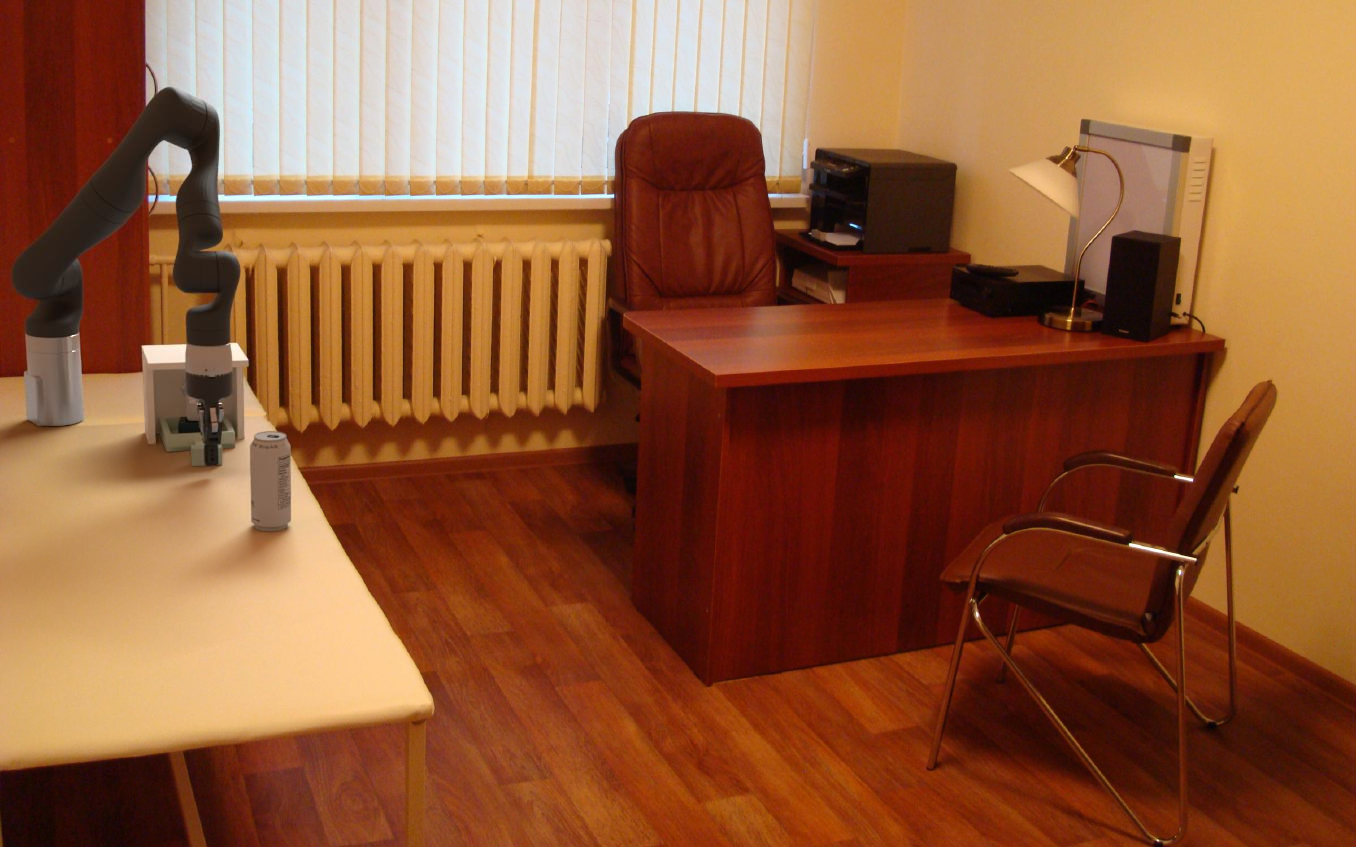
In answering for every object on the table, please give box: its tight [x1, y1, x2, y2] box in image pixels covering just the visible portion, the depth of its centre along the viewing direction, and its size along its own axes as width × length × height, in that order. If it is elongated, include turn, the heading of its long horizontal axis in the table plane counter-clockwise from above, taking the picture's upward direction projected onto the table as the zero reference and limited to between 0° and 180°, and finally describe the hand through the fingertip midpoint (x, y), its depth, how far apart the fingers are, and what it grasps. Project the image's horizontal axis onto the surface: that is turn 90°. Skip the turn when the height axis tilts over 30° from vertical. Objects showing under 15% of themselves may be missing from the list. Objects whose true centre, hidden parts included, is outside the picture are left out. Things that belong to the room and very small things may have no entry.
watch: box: [178, 380, 201, 434], centre depth 238 cm, size 6×8×11 cm
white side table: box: [141, 342, 250, 445], centre depth 238 cm, size 14×17×17 cm
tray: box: [159, 414, 236, 467], centre depth 235 cm, size 22×12×3 cm, turn 27°
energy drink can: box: [249, 430, 292, 532], centre depth 200 cm, size 6×6×15 cm
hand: (211, 464), depth 221 cm, fingers closed
